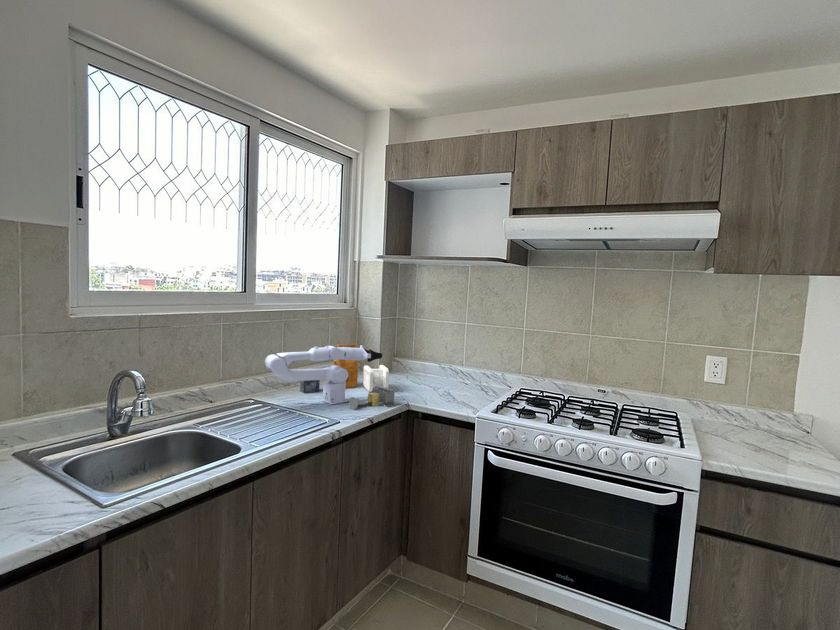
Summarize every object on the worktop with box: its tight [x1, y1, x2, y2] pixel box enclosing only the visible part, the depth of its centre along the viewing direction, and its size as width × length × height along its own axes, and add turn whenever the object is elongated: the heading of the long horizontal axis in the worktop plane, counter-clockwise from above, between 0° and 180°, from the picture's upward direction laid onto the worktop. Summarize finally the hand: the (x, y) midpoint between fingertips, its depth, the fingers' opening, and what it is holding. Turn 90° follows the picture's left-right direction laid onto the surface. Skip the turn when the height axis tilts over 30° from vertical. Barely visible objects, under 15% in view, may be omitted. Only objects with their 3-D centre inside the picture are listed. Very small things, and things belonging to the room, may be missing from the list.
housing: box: [372, 386, 398, 408], centre depth 202 cm, size 5×14×6 cm, turn 44°
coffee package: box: [332, 343, 359, 389], centre depth 230 cm, size 10×12×22 cm
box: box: [299, 380, 321, 394], centre depth 216 cm, size 8×6×11 cm
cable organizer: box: [362, 364, 390, 393], centre depth 226 cm, size 15×11×12 cm
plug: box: [348, 392, 381, 411], centre depth 195 cm, size 14×4×5 cm, turn 134°
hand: (378, 354), depth 210 cm, fingers open, 7 cm apart
